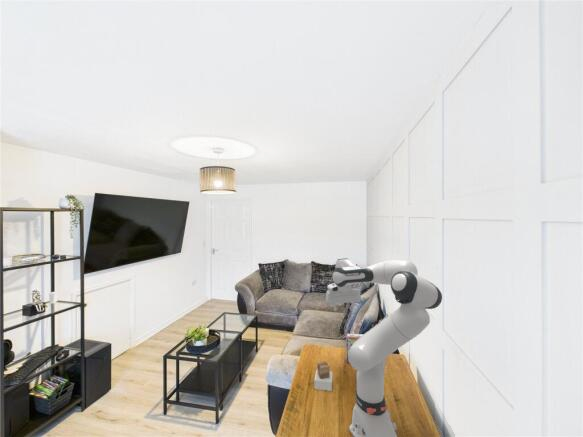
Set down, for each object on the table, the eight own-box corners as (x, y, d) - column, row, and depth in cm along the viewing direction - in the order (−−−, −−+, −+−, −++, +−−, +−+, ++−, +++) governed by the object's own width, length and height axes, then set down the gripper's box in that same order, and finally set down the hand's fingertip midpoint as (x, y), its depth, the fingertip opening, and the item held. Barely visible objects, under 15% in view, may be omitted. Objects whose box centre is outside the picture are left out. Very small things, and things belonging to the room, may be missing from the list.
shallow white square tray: (331, 391, 127) (331, 381, 128) (314, 389, 129) (314, 379, 129) (332, 380, 136) (332, 371, 136) (316, 378, 138) (316, 369, 138)
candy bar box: (347, 363, 152) (346, 336, 153) (346, 358, 157) (345, 333, 158) (365, 364, 151) (365, 337, 152) (363, 359, 156) (363, 333, 157)
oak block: (329, 377, 131) (329, 366, 131) (320, 379, 130) (320, 367, 130) (325, 371, 136) (325, 361, 136) (317, 373, 135) (317, 362, 135)
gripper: (357, 284, 146) (358, 307, 146) (324, 285, 143) (325, 309, 143) (362, 286, 140) (362, 311, 140) (328, 288, 137) (328, 313, 137)
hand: (343, 310), depth 141 cm, fingers open, 8 cm apart
